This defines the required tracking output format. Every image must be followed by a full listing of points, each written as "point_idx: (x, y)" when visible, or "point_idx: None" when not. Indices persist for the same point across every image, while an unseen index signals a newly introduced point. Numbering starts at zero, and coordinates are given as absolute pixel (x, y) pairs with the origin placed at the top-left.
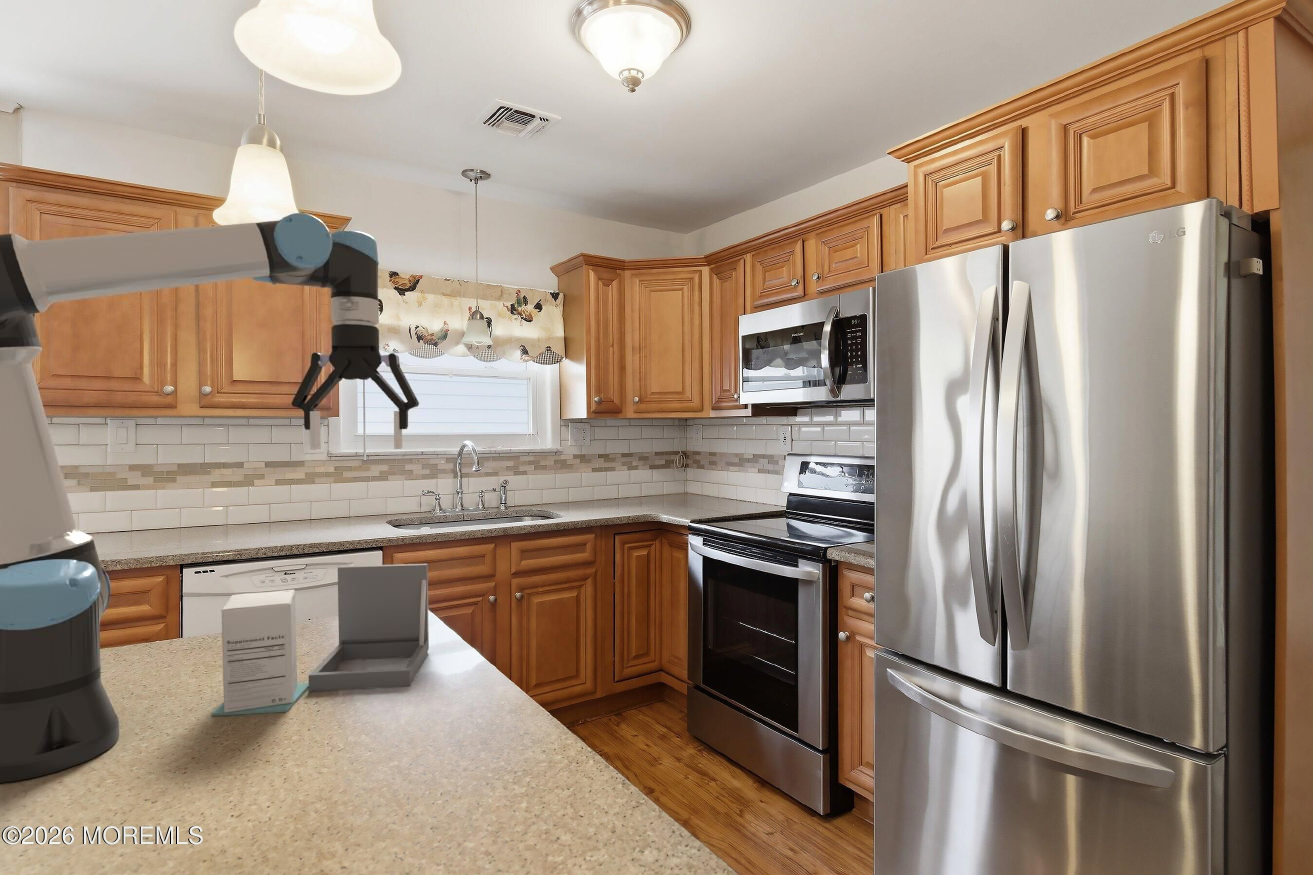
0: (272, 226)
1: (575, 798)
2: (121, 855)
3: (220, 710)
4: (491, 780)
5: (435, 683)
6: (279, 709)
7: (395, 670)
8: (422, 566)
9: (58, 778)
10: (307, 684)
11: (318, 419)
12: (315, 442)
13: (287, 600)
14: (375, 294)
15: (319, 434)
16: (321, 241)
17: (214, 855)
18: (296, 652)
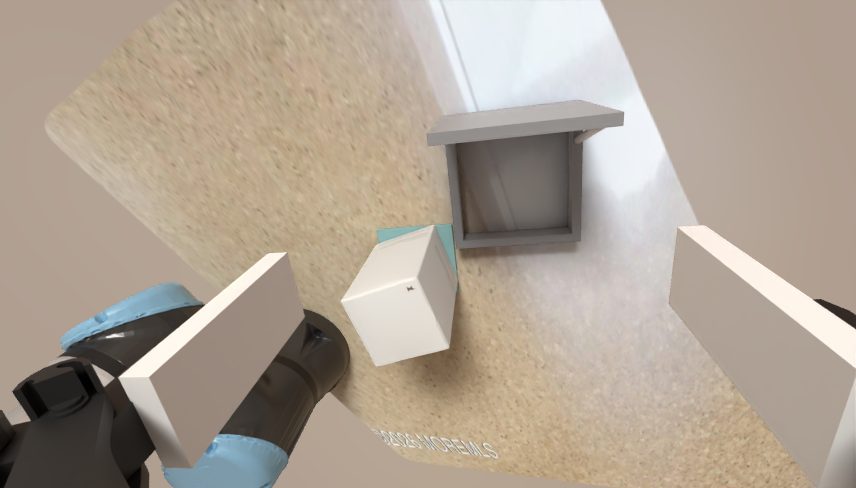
0: None
1: (748, 449)
2: (458, 461)
3: None
4: (682, 421)
5: (608, 227)
6: None
7: (561, 240)
8: (612, 126)
9: (348, 383)
10: (449, 229)
11: (204, 365)
12: (288, 329)
13: (439, 337)
14: None
15: (253, 297)
16: None
17: (512, 467)
18: (430, 239)
